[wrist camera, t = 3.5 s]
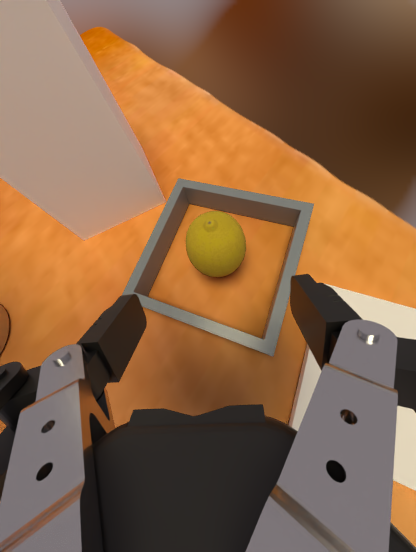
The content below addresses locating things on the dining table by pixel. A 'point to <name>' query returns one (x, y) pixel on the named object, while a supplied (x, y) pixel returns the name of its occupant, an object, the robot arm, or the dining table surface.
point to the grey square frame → (233, 203)
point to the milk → (65, 125)
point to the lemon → (215, 244)
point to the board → (409, 426)
